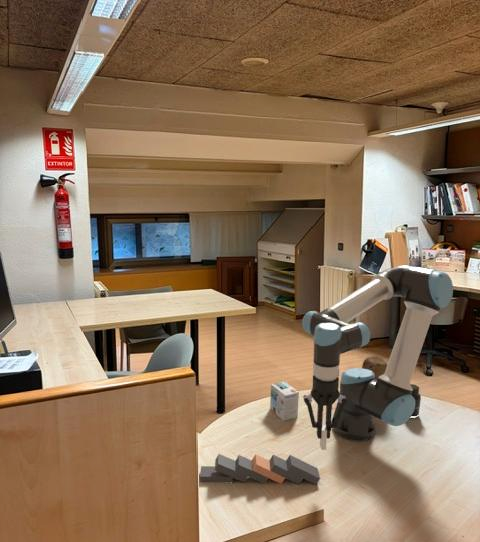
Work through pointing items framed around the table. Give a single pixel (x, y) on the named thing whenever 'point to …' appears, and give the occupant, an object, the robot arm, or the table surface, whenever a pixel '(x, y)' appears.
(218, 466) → the domino
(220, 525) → the table surface
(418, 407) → the supplement bottle
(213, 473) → the domino
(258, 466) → the domino
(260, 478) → the domino
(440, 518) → the table surface
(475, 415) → the table surface
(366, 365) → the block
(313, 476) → the domino
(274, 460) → the domino
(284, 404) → the light bulb box
